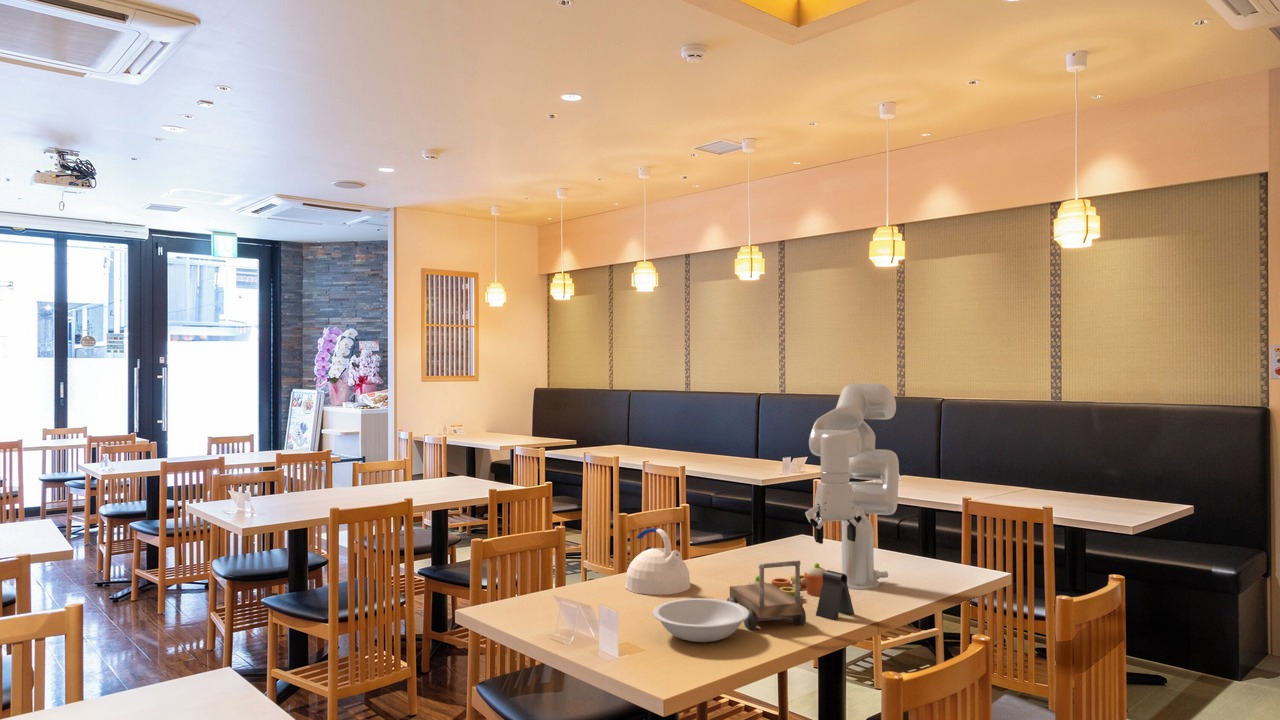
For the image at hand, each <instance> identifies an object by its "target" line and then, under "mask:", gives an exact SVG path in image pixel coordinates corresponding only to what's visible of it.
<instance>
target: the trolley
mask: <svg viewBox="0 0 1280 720" xmlns="http://www.w3.org/2000/svg"><path fill="white" fill-rule="evenodd" d="M783 567H794V575H795V598H794V597H792V596H791V595H789V594H787V593H786V592H784V591H782V590H781V589H779V588H777V587H775V586H774V585H772V583H771V584H770V582H765V569H772V568H783ZM758 573H759V574H758V576H759V584H753V585H748V584H745V585H744V584H743V585H732V586H729V597H727V599H726V601H730V602H734V603H737V604H739V605H742V606H744V607H745V608H746V609H747V610H748V611H749V617H748V618H747V619H746V620H745V621H743V623H744V627H745V628H746V629H747V630H748V631H754V630H756V629H757V625H758V623H757V622H765V621H775V620H776V621H777V620H785V619H792V620H793V623H795V624H796V625H798V626H803V625H805V624H806V620H807V617H806V616H807V614H806V610H805V608H804V606H803V602H802V601H800V599H801V598H800V594H801V590H800V575H801V561H800V560H788V561H778V562H764V563H758ZM764 582H765V583H764Z"/></svg>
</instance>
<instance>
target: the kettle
mask: <svg viewBox="0 0 1280 720" xmlns="http://www.w3.org/2000/svg"><path fill="white" fill-rule="evenodd" d="M651 533H657V534H658V535H659V536H660V537H661V539H662V540H663V546H664V548H662V547H650V546H647V547H645V549H644V550H643V551H641V552H640V553H639V554H638V555H636V556H635V557H634V559H633V560H632V561H631V562H630V563H629V565H628V568H627V571H626V577H625V586H624V587H625V588H626V589H627V590H628V591H630V592H632V593H635V594H640V595H648V596H649V595H650V596H666V595H675V594H680V593H684V592H686V591H689V589H690V588H691V587H692V586H691V585H692V584H691V578H690V571H689V569H688V566H687V564H686V563H685V561H684V560H683V559H682V554H681V552H680V551H679V550H675V549H674V550H672V543H671V539H670V537H669V534H668V533H667V532H666V531H665V530H663V529H662V528H659V527H649V528H646V529H644V530H642V531H641V532H640V533H639V534H637V536H636V539H638V540H641V539H643V538H644V537H645V536H647V535H648V534H651Z"/></svg>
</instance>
